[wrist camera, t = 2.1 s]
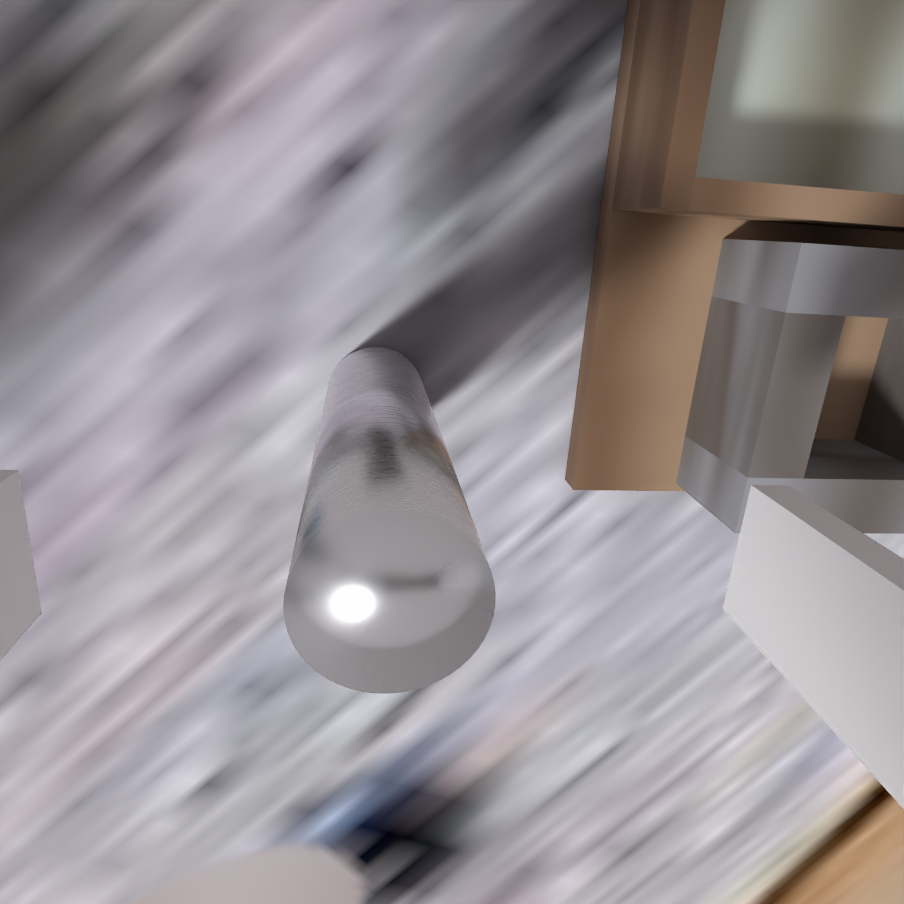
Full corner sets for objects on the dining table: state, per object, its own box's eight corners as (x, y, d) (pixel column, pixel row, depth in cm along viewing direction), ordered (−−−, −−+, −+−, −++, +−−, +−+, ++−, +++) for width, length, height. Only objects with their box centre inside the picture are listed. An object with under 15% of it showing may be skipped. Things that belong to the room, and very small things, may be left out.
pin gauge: (327, 437, 22) (284, 696, 10) (328, 344, 21) (280, 509, 9) (420, 439, 23) (486, 690, 11) (425, 348, 22) (505, 511, 10)
